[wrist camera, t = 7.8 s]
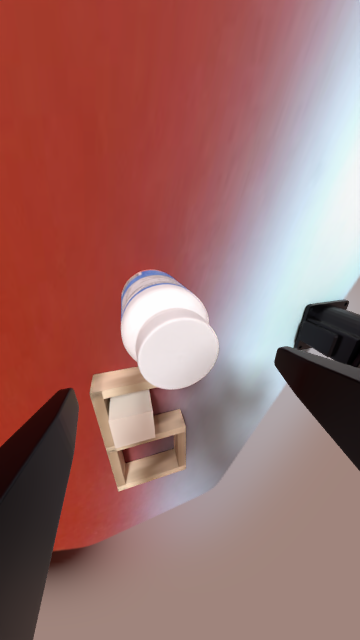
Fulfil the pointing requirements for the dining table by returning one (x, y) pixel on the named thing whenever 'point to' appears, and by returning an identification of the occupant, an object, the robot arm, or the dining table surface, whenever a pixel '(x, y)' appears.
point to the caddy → (148, 466)
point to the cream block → (131, 418)
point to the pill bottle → (166, 330)
